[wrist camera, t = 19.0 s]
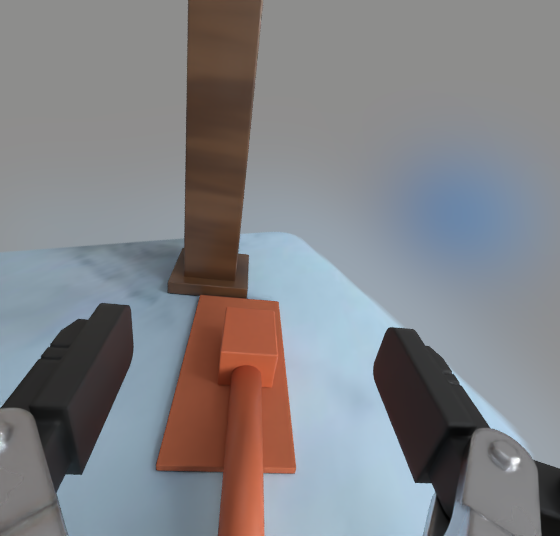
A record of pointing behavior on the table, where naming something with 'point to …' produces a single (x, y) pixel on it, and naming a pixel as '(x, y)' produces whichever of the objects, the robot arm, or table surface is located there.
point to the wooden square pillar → (217, 145)
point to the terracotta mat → (222, 399)
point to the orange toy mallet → (245, 416)
